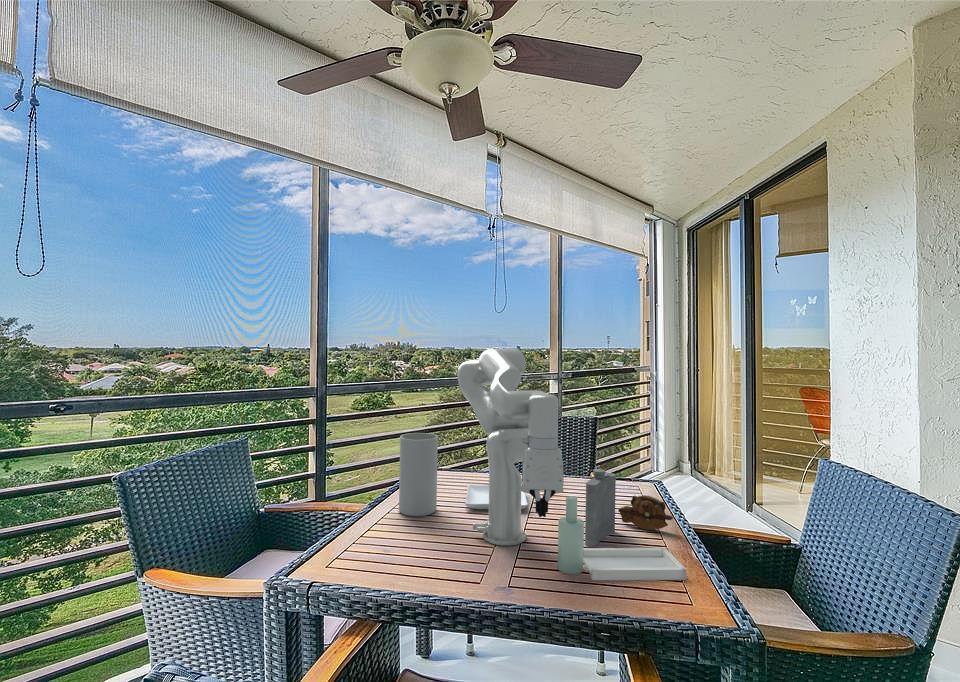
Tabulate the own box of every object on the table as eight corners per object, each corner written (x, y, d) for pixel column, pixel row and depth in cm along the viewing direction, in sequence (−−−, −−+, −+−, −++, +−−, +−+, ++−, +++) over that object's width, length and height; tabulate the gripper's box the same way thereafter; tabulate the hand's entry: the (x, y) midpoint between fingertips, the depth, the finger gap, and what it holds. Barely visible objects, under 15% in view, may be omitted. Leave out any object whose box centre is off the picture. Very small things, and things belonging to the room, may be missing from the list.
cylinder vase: (396, 517, 164) (397, 439, 164) (401, 504, 177) (402, 432, 177) (435, 517, 165) (436, 440, 164) (437, 504, 177) (438, 433, 177)
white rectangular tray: (592, 580, 123) (592, 570, 123) (579, 557, 136) (580, 548, 136) (686, 579, 124) (686, 569, 124) (664, 557, 137) (665, 548, 137)
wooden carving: (616, 526, 159) (617, 494, 159) (619, 521, 164) (620, 490, 163) (672, 536, 152) (673, 503, 152) (674, 531, 156) (674, 498, 156)
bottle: (560, 574, 126) (561, 502, 126) (555, 563, 133) (556, 494, 133) (586, 574, 127) (587, 502, 126) (579, 562, 133) (581, 494, 133)
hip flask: (593, 548, 143) (594, 476, 143) (580, 544, 145) (581, 474, 145) (616, 531, 155) (617, 466, 155) (604, 528, 158) (605, 463, 158)
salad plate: (528, 514, 170) (528, 504, 170) (464, 512, 170) (464, 502, 170) (523, 494, 191) (523, 485, 191) (467, 493, 192) (467, 484, 192)
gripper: (515, 445, 125) (513, 520, 125) (575, 446, 126) (574, 520, 126) (511, 439, 132) (510, 510, 133) (568, 440, 133) (567, 510, 133)
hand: (541, 515), depth 129 cm, fingers closed
